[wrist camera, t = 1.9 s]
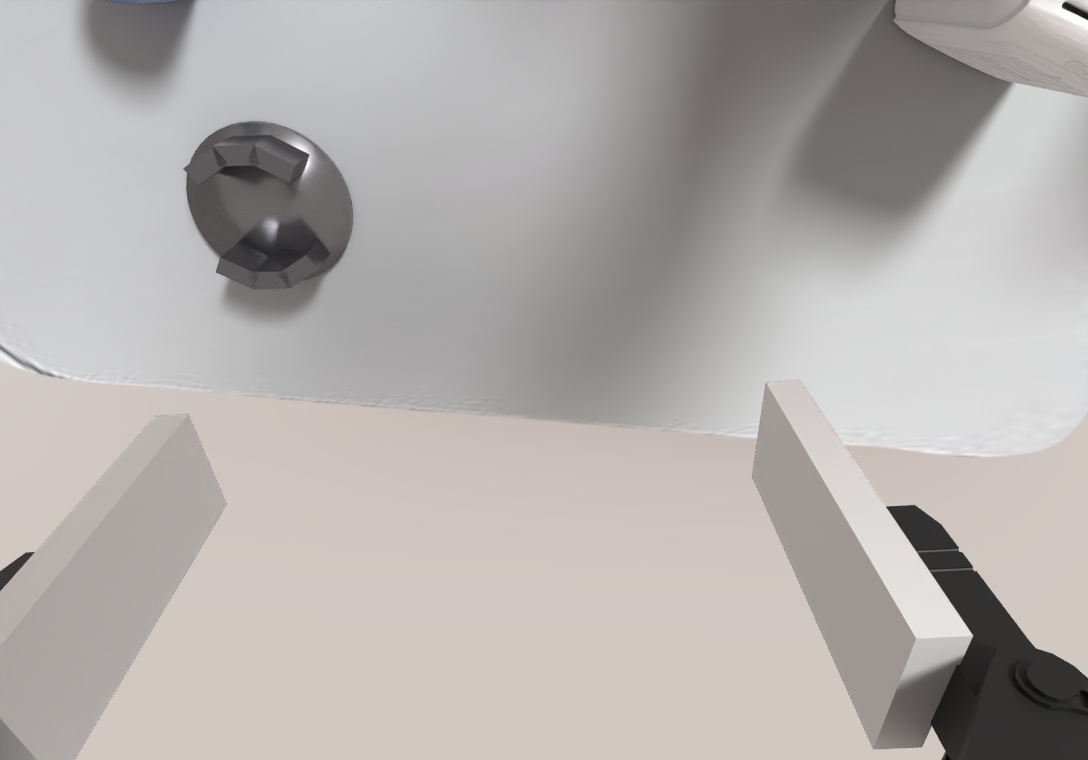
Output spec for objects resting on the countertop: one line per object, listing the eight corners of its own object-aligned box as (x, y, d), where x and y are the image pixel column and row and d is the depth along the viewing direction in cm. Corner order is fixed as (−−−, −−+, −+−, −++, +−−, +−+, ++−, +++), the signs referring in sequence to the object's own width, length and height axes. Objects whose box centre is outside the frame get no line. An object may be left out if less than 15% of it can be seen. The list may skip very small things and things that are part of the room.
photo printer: (1060, 18, 39) (1255, 30, 28) (1010, 89, 41) (1173, 126, 30) (922, -56, 37) (1076, -72, 26) (876, 24, 39) (1002, 38, 28)
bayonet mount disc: (167, 123, 41) (138, 134, 38) (336, 118, 41) (320, 128, 38) (216, 281, 47) (195, 301, 44) (365, 277, 47) (353, 296, 44)
